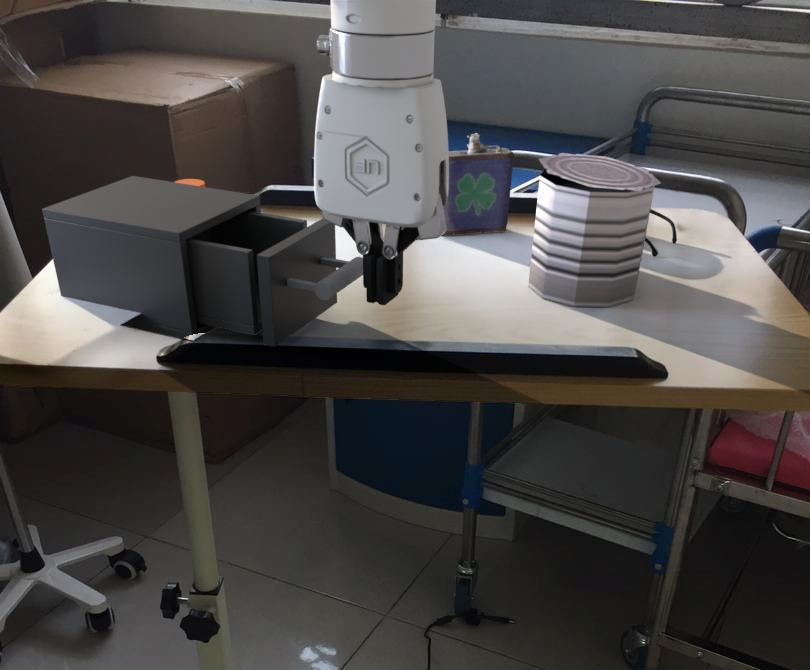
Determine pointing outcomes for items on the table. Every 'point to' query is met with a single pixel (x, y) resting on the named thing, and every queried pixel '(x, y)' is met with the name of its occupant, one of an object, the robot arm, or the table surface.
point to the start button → (192, 182)
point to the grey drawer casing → (138, 247)
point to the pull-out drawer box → (266, 274)
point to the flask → (478, 189)
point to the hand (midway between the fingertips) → (383, 298)
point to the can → (589, 229)
